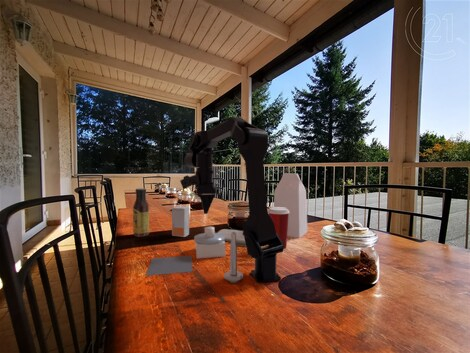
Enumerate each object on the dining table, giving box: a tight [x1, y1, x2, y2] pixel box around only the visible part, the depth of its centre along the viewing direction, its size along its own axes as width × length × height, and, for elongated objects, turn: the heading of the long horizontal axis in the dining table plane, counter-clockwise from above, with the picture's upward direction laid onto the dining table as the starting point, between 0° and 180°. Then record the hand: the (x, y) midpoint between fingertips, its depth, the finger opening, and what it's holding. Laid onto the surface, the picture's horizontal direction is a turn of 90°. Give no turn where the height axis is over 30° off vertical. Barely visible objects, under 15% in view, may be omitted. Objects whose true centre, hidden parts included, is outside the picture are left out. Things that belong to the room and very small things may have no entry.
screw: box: [223, 232, 244, 284], centre depth 61 cm, size 13×5×5 cm
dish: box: [195, 241, 226, 259], centre depth 81 cm, size 9×9×5 cm
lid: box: [193, 226, 225, 245], centre depth 81 cm, size 10×10×4 cm
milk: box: [273, 172, 308, 239], centre depth 108 cm, size 12×12×26 cm
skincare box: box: [171, 206, 190, 238], centre depth 104 cm, size 6×4×12 cm
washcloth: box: [217, 228, 246, 247], centre depth 98 cm, size 12×18×3 cm, turn 67°
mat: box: [145, 255, 193, 277], centre depth 71 cm, size 12×12×1 cm
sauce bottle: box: [132, 187, 150, 238], centre depth 103 cm, size 6×6×20 cm
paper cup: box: [267, 206, 290, 250], centre depth 89 cm, size 8×8×14 cm
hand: (204, 211), depth 89 cm, fingers open, 9 cm apart
